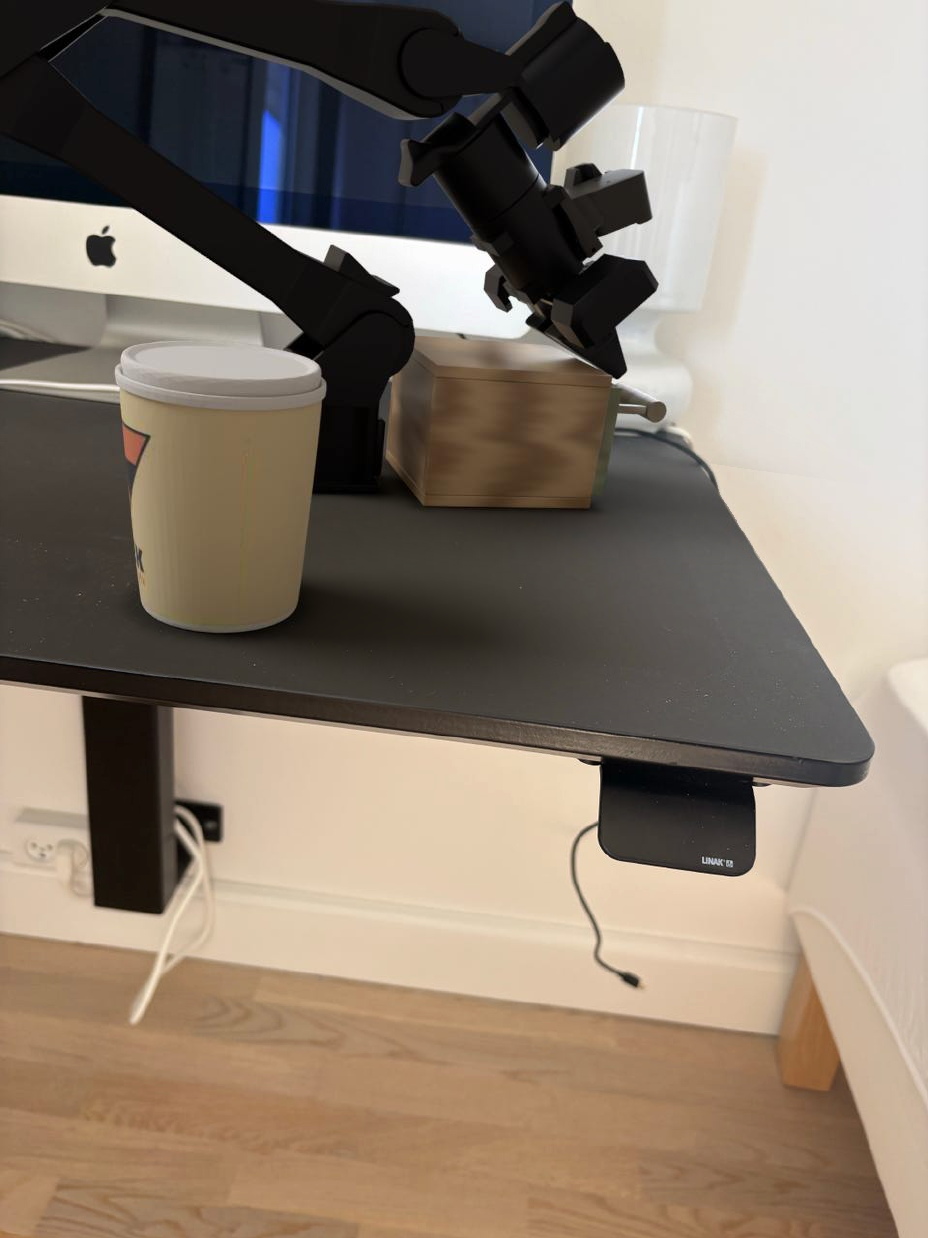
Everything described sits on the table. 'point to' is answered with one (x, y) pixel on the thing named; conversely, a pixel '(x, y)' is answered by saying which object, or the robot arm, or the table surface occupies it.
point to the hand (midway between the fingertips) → (620, 374)
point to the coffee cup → (219, 478)
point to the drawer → (620, 402)
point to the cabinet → (496, 424)
